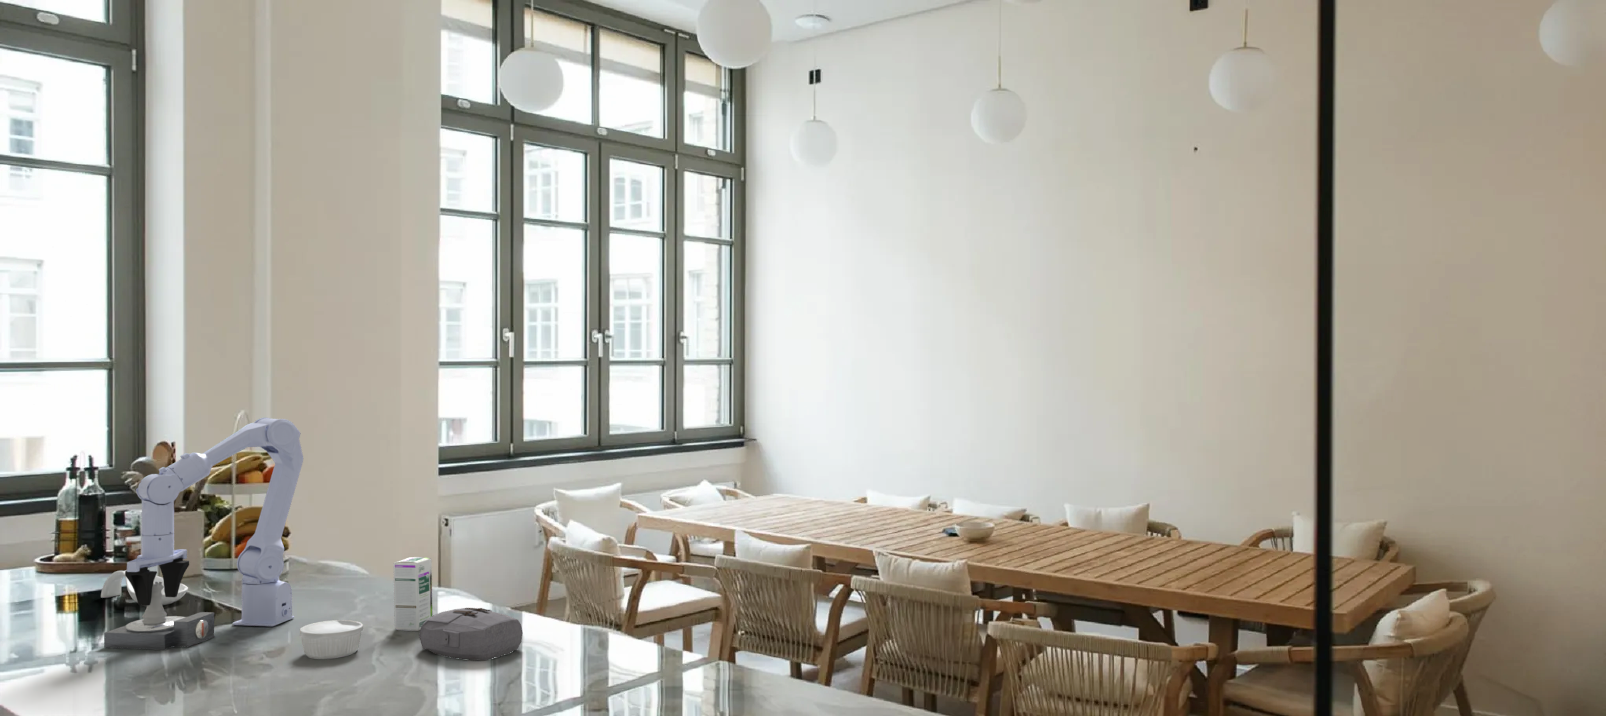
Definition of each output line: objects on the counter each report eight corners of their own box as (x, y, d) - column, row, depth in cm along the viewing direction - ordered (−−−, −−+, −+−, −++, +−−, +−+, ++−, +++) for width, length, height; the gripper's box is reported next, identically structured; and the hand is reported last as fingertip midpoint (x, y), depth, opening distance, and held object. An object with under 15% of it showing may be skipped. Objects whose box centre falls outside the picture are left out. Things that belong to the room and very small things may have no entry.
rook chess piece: (149, 620, 224) (148, 580, 224) (171, 619, 224) (171, 580, 224) (137, 625, 220) (137, 585, 220) (160, 625, 220) (160, 585, 220)
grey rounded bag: (532, 648, 217) (459, 635, 226) (532, 606, 217) (459, 595, 226) (475, 667, 204) (400, 653, 213) (475, 622, 204) (400, 610, 213)
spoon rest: (198, 601, 258) (198, 571, 258) (151, 612, 248) (151, 580, 247) (132, 592, 268) (132, 563, 268) (83, 602, 257) (83, 572, 257)
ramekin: (375, 648, 216) (375, 622, 216) (333, 663, 206) (333, 635, 206) (329, 643, 220) (329, 617, 220) (286, 658, 209) (286, 630, 209)
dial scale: (224, 634, 227) (224, 609, 227) (180, 650, 214) (180, 625, 214) (151, 631, 229) (151, 607, 229) (104, 647, 216) (104, 622, 216)
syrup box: (418, 631, 229) (418, 562, 229) (392, 630, 231) (393, 561, 231) (433, 624, 235) (433, 557, 235) (408, 623, 236) (408, 556, 236)
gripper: (165, 527, 230) (165, 592, 230) (112, 539, 215) (112, 608, 215) (196, 528, 229) (196, 593, 229) (145, 540, 214) (145, 609, 214)
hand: (157, 601), depth 222 cm, fingers open, 7 cm apart
